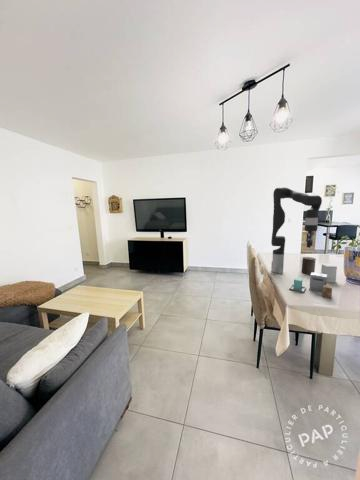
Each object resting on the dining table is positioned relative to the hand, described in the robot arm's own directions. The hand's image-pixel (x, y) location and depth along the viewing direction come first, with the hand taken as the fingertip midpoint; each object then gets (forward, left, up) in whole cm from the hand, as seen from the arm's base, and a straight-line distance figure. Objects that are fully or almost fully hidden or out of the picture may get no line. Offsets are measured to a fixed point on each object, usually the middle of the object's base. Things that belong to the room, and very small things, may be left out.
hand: (309, 246), depth 139 cm
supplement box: (+11, +22, -30) cm, 39 cm away
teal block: (-4, -11, -30) cm, 32 cm away
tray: (-4, -11, -30) cm, 32 cm away
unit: (+7, -3, -30) cm, 31 cm away
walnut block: (+13, -13, -30) cm, 35 cm away
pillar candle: (-4, +34, -30) cm, 46 cm away
